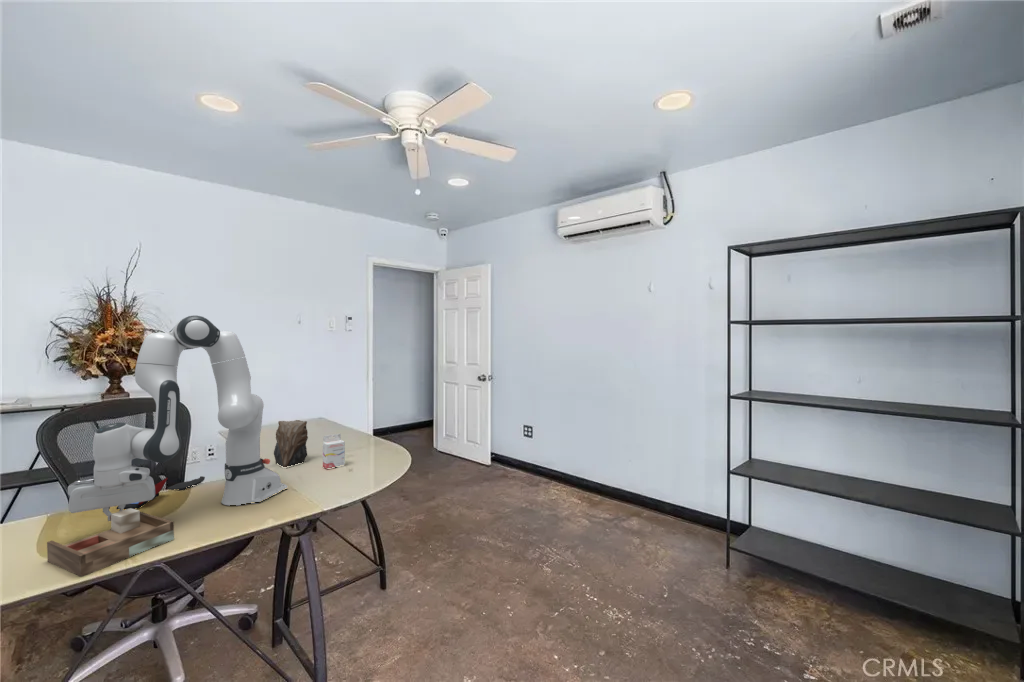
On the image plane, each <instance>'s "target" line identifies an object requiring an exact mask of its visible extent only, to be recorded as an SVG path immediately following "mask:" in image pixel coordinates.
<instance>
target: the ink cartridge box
mask: <svg viewBox="0 0 1024 682" xmlns="http://www.w3.org/2000/svg"><path fill="white" fill-rule="evenodd" d="M322 437H323V439H322V468H323V467H324V468H323V469H325V468H326V469H327V468H332V467H336V466H340V465H344V464H346V463H345V461H346V460H345V459H346V457H345V456H346V452H345V451H346V450H345V449H346V447H345V446H346V445H345V444H346V443H345V441H344V440H343V439H341V437H342V435H341V433H334V434H333V433H332V434H328V435H323V436H322ZM326 469H325V470H326Z"/></svg>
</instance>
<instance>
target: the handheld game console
mask: <svg viewBox="0 0 1024 682" xmlns="http://www.w3.org/2000/svg"><path fill="white" fill-rule="evenodd" d="M167 480H168V477H165V478H164V479H162V480H160V481H158V482H156V483H154V485H155V497H154V498H153V499H152V500H151V501H153V500H154V499H156V498H157V497H160V492H161V490H162V489H163V487H164V485H165V484H166V483H167ZM146 503H149V502H148V501H144V502H137V503H131V504H125V507H124V509H129V508H132V509H135V508H139V509H141V508H142V507H144V506H145V505H146ZM144 504H145V505H144ZM143 505H144V506H143ZM141 506H142V507H141ZM140 507H141V508H140ZM115 509H116V510H117V509H118V506H116V508H115ZM120 509H121V508H120ZM135 510H136V509H135Z"/></svg>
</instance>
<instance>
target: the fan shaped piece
mask: <svg viewBox="0 0 1024 682" xmlns="http://www.w3.org/2000/svg"><path fill="white" fill-rule="evenodd" d="M205 478H206V477H205V476H200V477H197V478H195V479H191V480H188V481H182V482H178V483H175V484H174V485H170V486H168V487H167V490H170V491H175V490H174V489H179V490H178V491H180V490H183V491H185V489H186V487H187V488H189V489H191V488H190V487H191V486H192V485H196V486H198V485H200V484H201V483H203V482H204V481H205ZM197 484H198V485H197ZM188 486H190V487H188ZM192 488H194V487H193V486H192ZM186 490H187V489H186Z"/></svg>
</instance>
